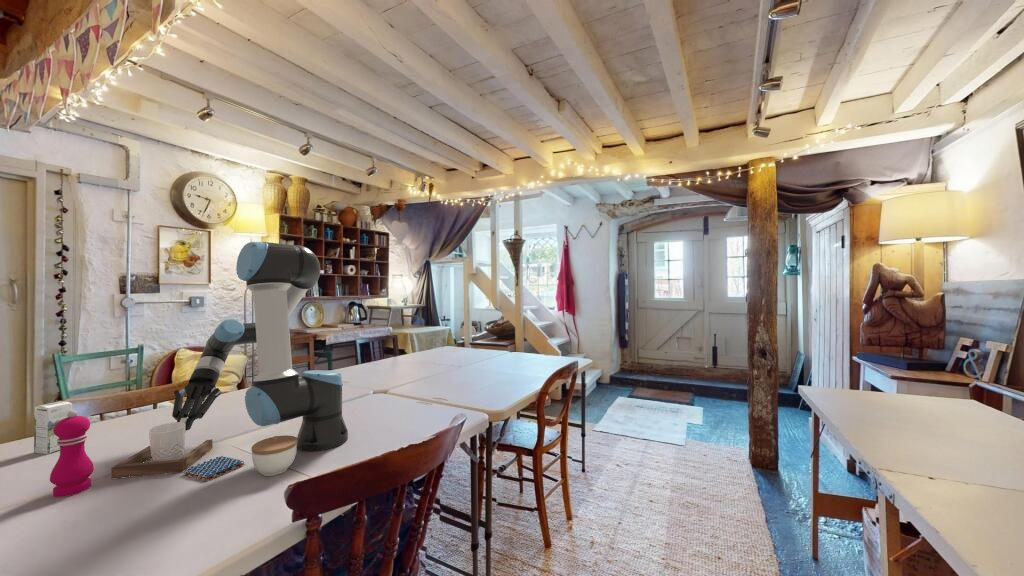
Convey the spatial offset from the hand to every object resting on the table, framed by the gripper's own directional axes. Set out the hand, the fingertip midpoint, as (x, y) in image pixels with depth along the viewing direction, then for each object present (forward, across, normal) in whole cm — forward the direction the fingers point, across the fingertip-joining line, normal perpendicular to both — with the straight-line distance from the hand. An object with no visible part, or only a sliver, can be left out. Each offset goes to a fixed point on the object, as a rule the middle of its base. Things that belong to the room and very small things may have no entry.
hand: (176, 440), depth 115 cm
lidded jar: (+16, -33, +10) cm, 38 cm away
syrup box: (-6, +40, -13) cm, 43 cm away
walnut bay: (+7, 0, 0) cm, 7 cm away
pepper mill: (+16, +13, +9) cm, 22 cm away
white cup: (+6, 0, 0) cm, 6 cm away
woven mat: (+13, -16, +6) cm, 22 cm away
